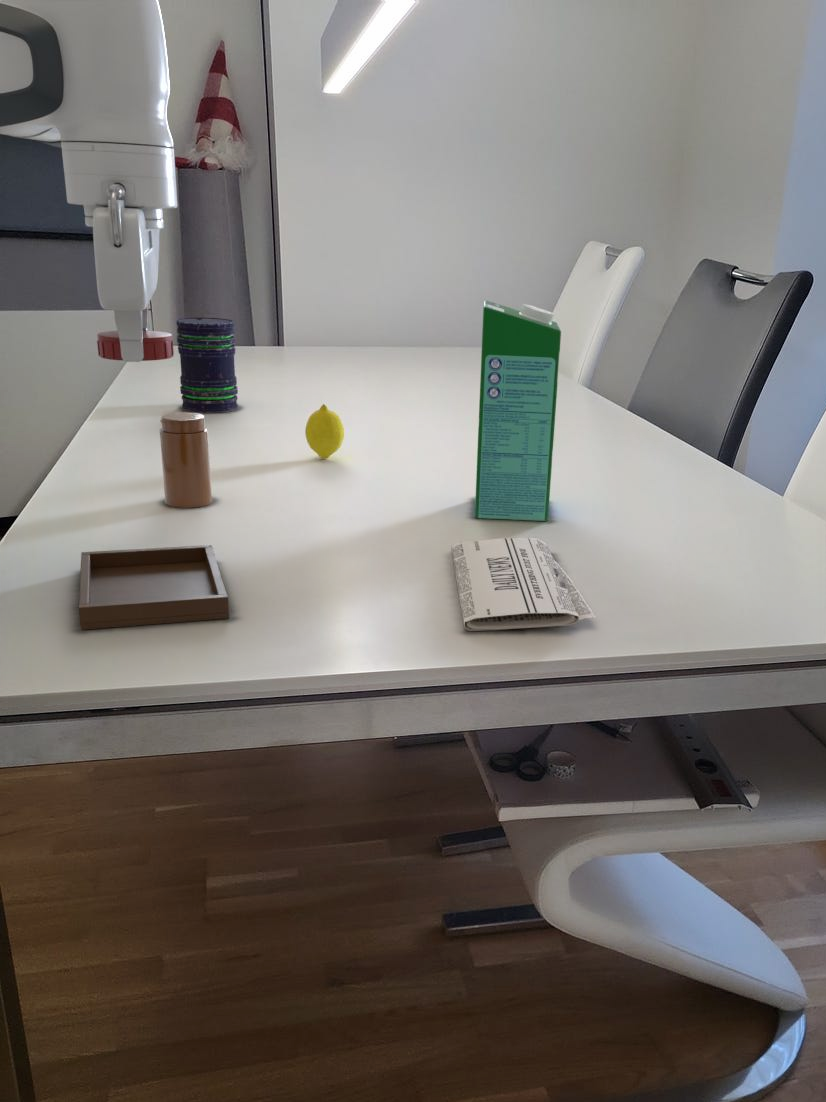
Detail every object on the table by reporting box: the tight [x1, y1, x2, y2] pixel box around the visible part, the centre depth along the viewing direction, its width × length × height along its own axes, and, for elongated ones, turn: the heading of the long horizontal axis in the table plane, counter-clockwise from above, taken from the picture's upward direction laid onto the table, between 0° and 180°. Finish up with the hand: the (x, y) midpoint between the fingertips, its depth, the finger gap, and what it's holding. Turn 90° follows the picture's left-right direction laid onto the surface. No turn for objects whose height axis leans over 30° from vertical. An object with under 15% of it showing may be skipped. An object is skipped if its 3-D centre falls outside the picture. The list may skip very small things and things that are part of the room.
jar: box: [159, 411, 213, 509], centre depth 126 cm, size 6×6×11 cm
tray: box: [78, 544, 230, 631], centre depth 98 cm, size 16×13×2 cm
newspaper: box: [450, 537, 597, 632], centre depth 104 cm, size 23×12×2 cm, turn 4°
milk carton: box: [474, 299, 562, 522], centre depth 126 cm, size 9×9×25 cm
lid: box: [96, 330, 175, 362], centre depth 91 cm, size 6×6×2 cm
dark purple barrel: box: [175, 317, 239, 414], centre depth 181 cm, size 10×10×15 cm
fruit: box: [304, 403, 345, 460], centre depth 151 cm, size 6×6×8 cm
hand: (136, 354), depth 91 cm, fingers closed on lid, 6 cm apart
